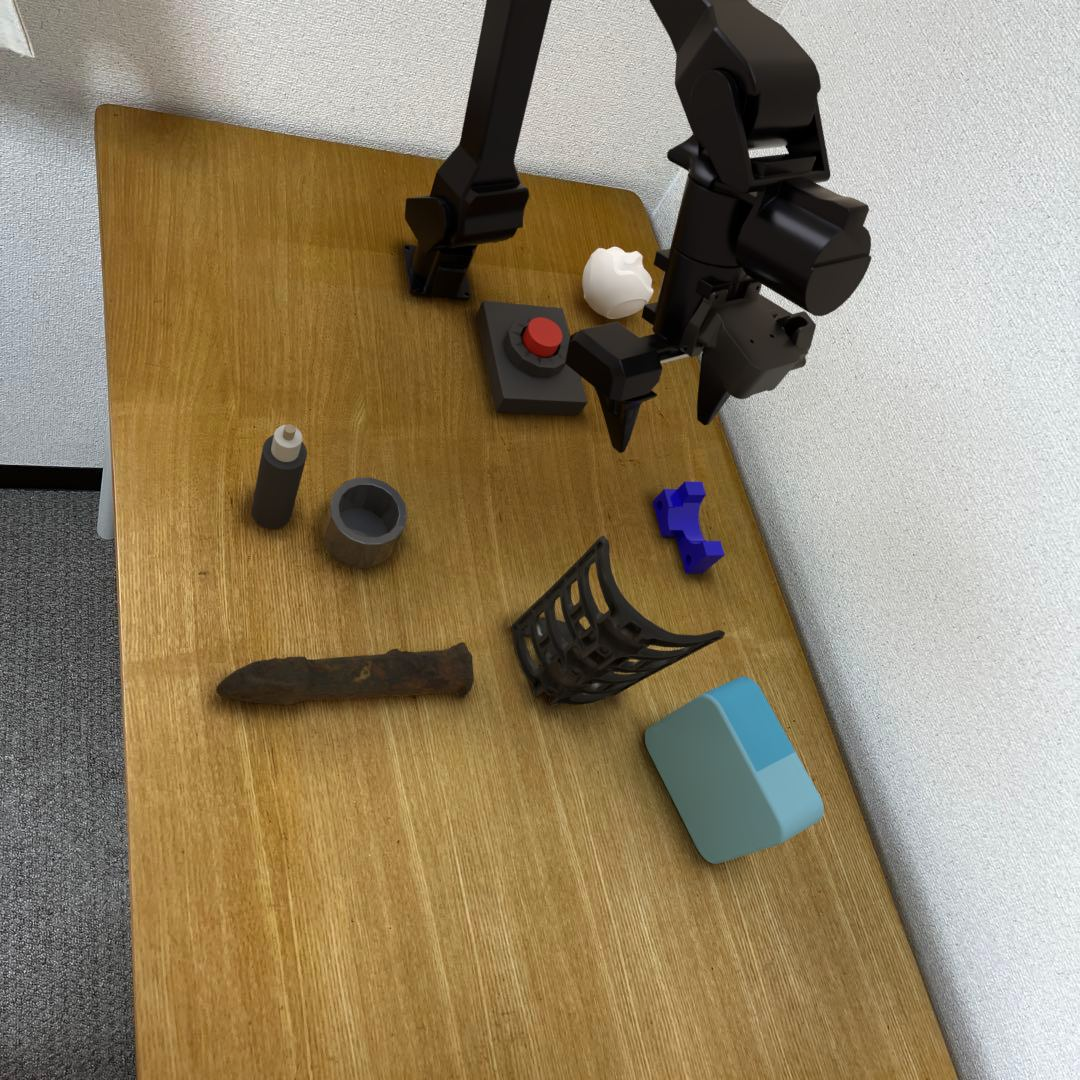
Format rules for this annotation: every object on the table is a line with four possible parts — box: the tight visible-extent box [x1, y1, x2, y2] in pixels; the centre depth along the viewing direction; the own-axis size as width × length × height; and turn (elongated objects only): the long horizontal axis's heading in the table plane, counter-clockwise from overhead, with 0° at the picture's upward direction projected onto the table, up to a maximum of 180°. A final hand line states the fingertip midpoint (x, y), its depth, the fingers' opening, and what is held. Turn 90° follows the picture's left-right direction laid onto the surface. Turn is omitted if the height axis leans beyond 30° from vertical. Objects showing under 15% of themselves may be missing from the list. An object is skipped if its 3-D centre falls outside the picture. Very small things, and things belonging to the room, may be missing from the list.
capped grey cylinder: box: [250, 423, 308, 530], centre depth 69 cm, size 3×3×12 cm
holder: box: [509, 535, 726, 707], centre depth 69 cm, size 11×8×20 cm
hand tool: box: [215, 641, 475, 706], centre depth 68 cm, size 19×4×5 cm, turn 99°
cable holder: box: [652, 480, 725, 575], centre depth 87 cm, size 8×4×4 cm, turn 12°
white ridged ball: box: [581, 246, 654, 320], centre depth 97 cm, size 8×8×8 cm
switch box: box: [475, 300, 589, 416], centre depth 90 cm, size 12×9×4 cm
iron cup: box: [321, 476, 408, 569], centre depth 74 cm, size 6×6×4 cm
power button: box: [522, 317, 562, 357], centre depth 88 cm, size 4×4×2 cm
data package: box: [644, 676, 825, 865], centre depth 71 cm, size 12×4×12 cm, turn 27°
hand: (661, 435), depth 72 cm, fingers open, 9 cm apart
